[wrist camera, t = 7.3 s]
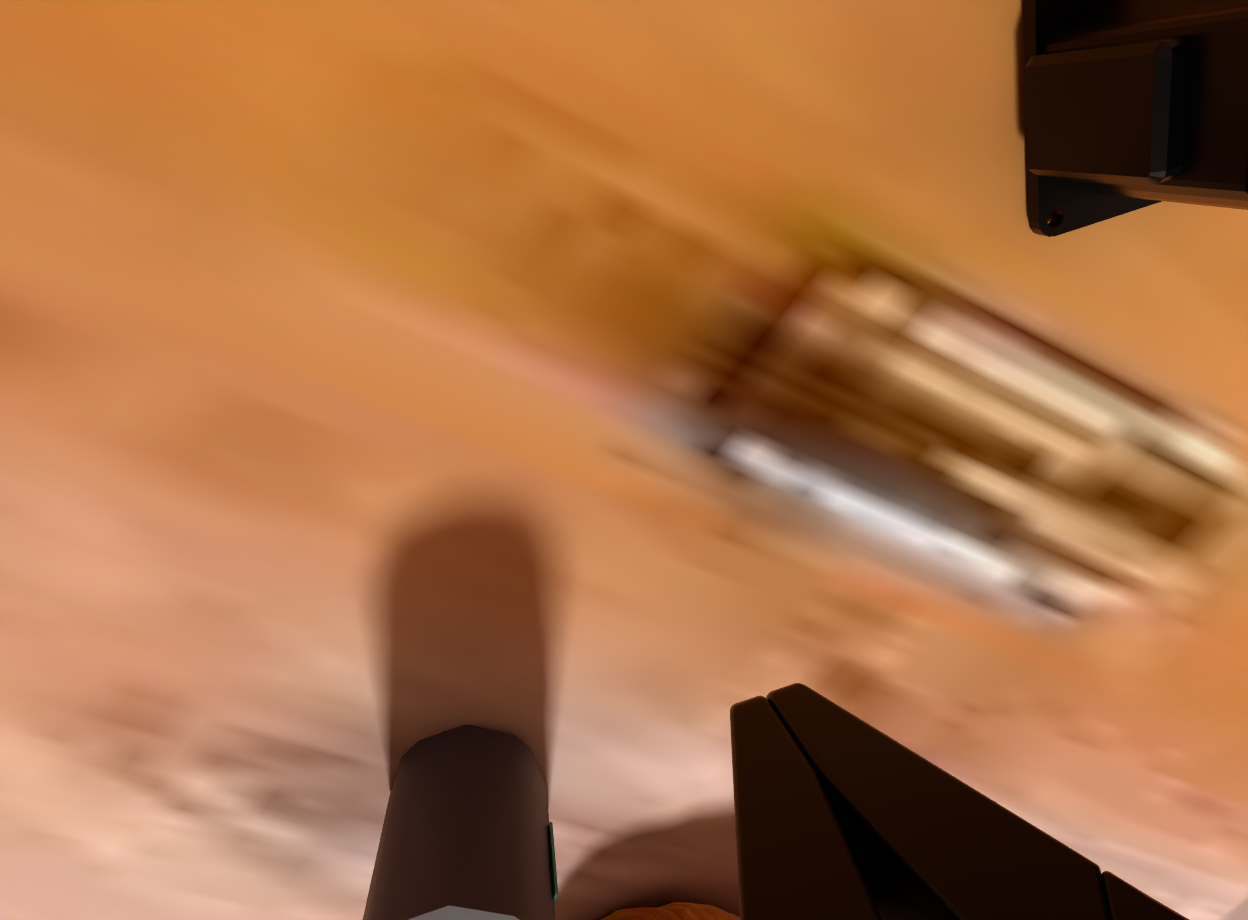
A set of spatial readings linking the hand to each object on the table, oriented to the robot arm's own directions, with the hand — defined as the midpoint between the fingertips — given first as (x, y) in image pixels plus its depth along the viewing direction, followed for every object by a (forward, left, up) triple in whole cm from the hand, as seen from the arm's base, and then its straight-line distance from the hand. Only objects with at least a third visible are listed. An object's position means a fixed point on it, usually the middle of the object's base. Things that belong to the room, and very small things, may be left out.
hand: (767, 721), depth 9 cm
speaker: (+8, +12, -13) cm, 19 cm away
